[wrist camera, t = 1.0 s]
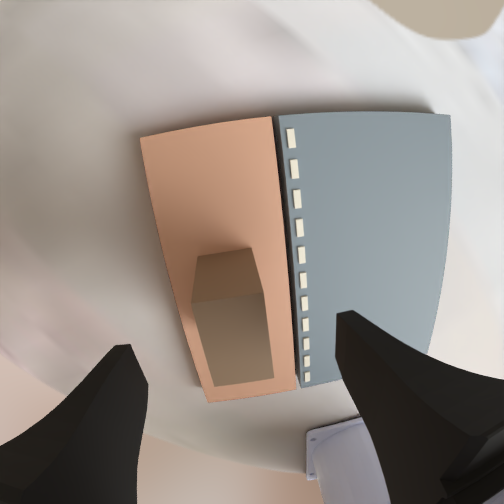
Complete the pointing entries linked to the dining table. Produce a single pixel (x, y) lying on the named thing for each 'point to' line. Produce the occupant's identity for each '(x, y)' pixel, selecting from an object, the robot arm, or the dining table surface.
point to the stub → (225, 252)
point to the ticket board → (364, 225)
